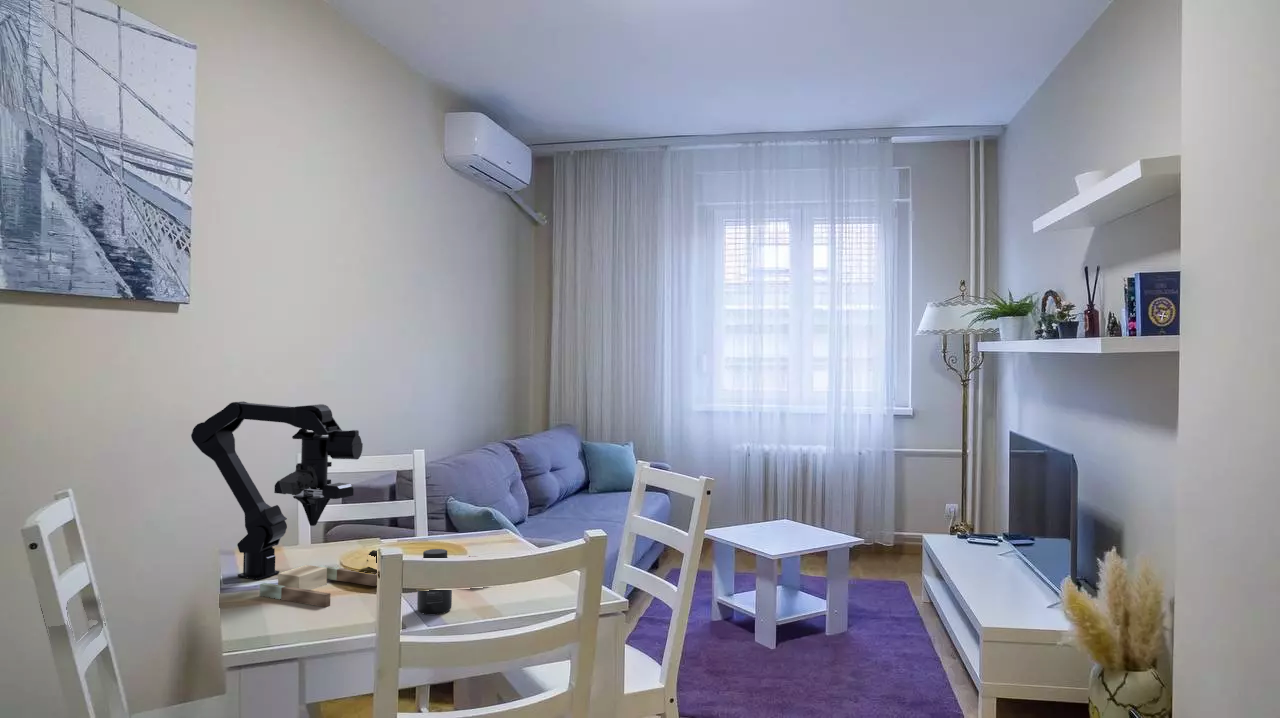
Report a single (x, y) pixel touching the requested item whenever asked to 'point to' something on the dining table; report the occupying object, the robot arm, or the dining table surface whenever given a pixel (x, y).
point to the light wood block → (304, 577)
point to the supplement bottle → (434, 591)
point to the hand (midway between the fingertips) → (312, 525)
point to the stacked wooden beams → (316, 596)
